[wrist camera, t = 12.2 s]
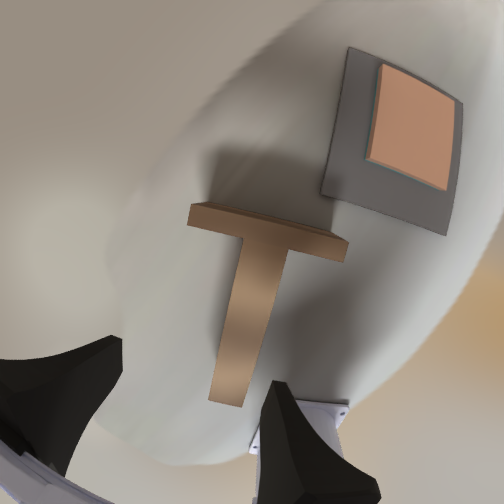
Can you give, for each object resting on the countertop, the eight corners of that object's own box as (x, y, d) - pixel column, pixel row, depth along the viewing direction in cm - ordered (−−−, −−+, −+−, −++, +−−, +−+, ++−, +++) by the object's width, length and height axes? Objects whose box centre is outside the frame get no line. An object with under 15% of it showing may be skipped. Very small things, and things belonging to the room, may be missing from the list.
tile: (446, 190, 16) (454, 101, 14) (369, 157, 16) (383, 63, 14) (437, 190, 17) (446, 104, 16) (363, 159, 17) (377, 69, 15)
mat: (442, 235, 18) (446, 236, 18) (319, 193, 18) (321, 193, 18) (459, 104, 16) (462, 103, 15) (347, 50, 16) (349, 47, 15)
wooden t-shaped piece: (282, 379, 22) (284, 414, 17) (181, 356, 22) (165, 387, 17) (330, 231, 19) (349, 242, 15) (207, 202, 19) (191, 203, 14)
